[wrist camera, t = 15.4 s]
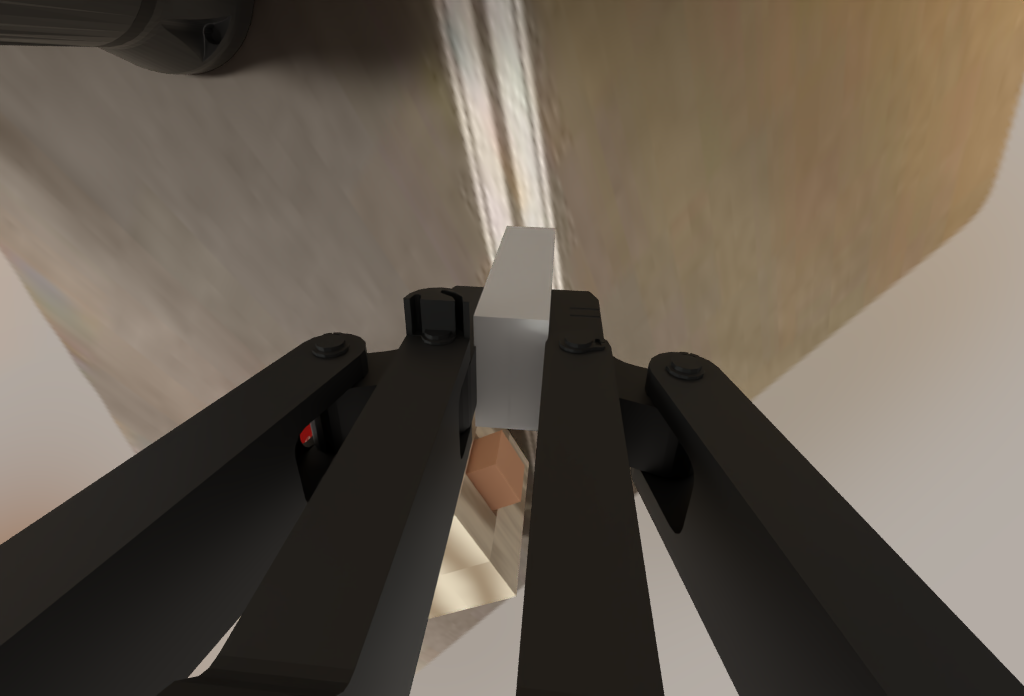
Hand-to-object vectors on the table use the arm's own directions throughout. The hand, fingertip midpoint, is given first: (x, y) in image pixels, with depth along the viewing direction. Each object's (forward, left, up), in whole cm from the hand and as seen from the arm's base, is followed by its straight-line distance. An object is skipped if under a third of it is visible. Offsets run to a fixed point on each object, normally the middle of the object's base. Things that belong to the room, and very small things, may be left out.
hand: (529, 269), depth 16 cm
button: (-5, -30, -25) cm, 39 cm away
